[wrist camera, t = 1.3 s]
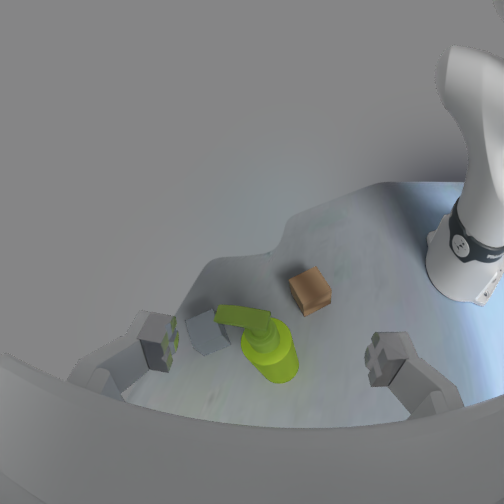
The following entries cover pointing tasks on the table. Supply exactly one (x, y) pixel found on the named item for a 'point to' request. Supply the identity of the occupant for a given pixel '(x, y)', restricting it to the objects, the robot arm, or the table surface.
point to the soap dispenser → (263, 341)
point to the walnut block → (310, 291)
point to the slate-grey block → (207, 333)
